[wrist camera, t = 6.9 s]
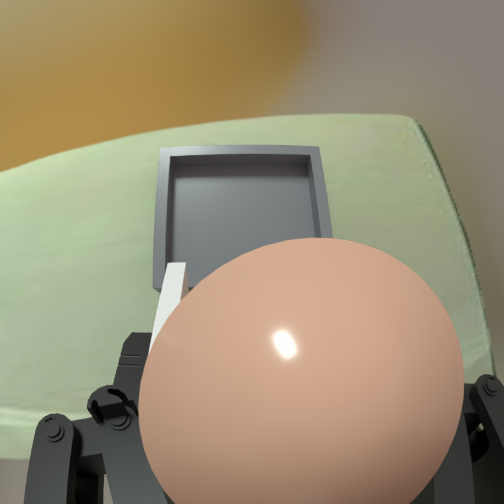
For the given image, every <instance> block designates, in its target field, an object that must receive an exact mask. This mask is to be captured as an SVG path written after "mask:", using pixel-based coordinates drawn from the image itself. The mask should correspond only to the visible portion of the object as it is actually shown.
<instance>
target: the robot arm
mask: <svg viewBox="0 0 504 504" xmlns="http://www.w3.org/2000/svg"><path fill="white" fill-rule="evenodd" d="M188 293H189V287H188V278H187V269H186V262H181V263H168V264H167V268H166V273H165V277H164V281H163V286H162V290H161V294H160V299H159V304H158V308H157V313H156V318H155V322H154V327H153V332H152V333H135V332H132V333H131V334H130V336H129V337H128V338H127V339H126V340H125V342H124V344H123V347H122V351H121V357H120V359H119V363H118V367H117V371H116V375H115V379H114V383H113V385H106V386H103V387H101V388H98V389H97V390H96V391H95V392H93V393H92V394H91V396H90V398H89V399H88V403H87V409H88V411H89V412H90V414H91V415H92V417H90V418H86V419H80V420H75V421H70V420H69V419H68V418H67V417H66V416H65V415H61V414H58V413H56V414H49V415H47V416H45V417H44V418H43V419H42V420H41V421H40V422H39V423H38V425H37V428H36V431H35V436H34V440H33V445H32V451H31V456H30V462H29V468H28V475H27V481H26V489H25V498H24V504H103V487H104V474H107V479H108V483H109V487H110V492H111V495H112V499H113V503H114V504H175V503H174V502H173V501H172V500H171V498H170V497H169V496H168V495H167V493H166V492H165V491H164V490H163V488H162V487H161V485H160V483H159V481H158V480H157V478H156V476H155V475H154V473H153V471H152V469H151V466H150V464H149V461H148V459H147V456H146V453H145V451H144V447H143V442H142V438H141V433H140V428H139V411H138V404H139V393H140V383H141V379H142V375H143V371H144V367H145V363H146V360H147V357H148V355H149V353H150V350H151V348H152V345H153V343H154V341H155V338H156V337H157V335H158V333H159V331H160V330H161V328H162V326H163V325H164V323H165V321H166V320H167V318H168V317H169V315H170V314H171V313H172V312H173V310H174V309H175V308H176V306H177V305H178V304H179V303H180V301H181V300H182V299H183V298H184V297H185V296H186V295H187V294H188ZM481 423H482V425H483V427H484V429H483V430H481V429H480V428H479V425H480V424H481ZM409 504H504V386H503V385H502V383H501V382H500V381H499V379H497V378H496V377H495V376H492V375H489V374H485V375H482V376H480V377H479V378H478V379H477V381H476V382H475V384H466V383H464V397H463V404H462V410H461V415H460V419H459V423H458V426H457V430H456V433H455V436H454V438H453V441H452V443H451V446H450V448H449V450H448V452H447V454H446V456H445V458H444V460H443V462H442V463H441V465H440V467H439V469H438V470H437V472H436V473H435V474H434V476H433V477H432V479H431V480H430V481H429V483H428V484H427V485H426V486H425V488H424V489H423V490H422V491H421V492H420V493H419V494H418V495H417V497H416V498H415V499H414V500H413V501H412V502H410V503H409Z"/></svg>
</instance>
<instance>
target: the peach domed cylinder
mask: <svg viewBox="0 0 504 504" xmlns="http://www.w3.org/2000/svg"><path fill="white" fill-rule="evenodd" d="M463 397H464V368H463V359H462V354H461V349H460V344H459V340H458V337H457V334H456V332H455V329H454V326H453V324H452V321H451V319H450V317H449V315H448V313H447V311H446V309H445V308H444V306H443V305H442V303H441V302H440V300H439V299H438V297H437V296H436V294H435V293H434V292H433V291H432V289H431V288H430V287H429V286H428V285H427V284H426V283H425V282H424V280H423V279H422V278H421V277H419V276H418V275H417V274H416V273H415V272H414V271H412V270H411V269H410V268H409V267H408V266H406V265H405V264H403V263H401V262H400V261H398V260H397V259H395V258H394V257H392V256H390V255H388V254H386V253H384V252H382V251H379V250H377V249H375V248H373V247H370V246H366V245H363V244H360V243H356V242H353V241H347V240H340V239H334V238H303V239H294V240H286V241H282V242H278V243H274V244H270V245H266V246H263V247H260V248H258V249H255V250H253V251H250V252H248V253H245V254H242V255H241V256H239V257H237V258H235V259H233V260H232V261H230V262H228V263H226V264H224V265H222V266H221V267H219V268H218V269H217V270H215V271H214V272H213V273H211V274H210V275H208V276H207V277H206V278H204V279H203V280H202V281H200V282H199V283H198V284H197V285H196V286H195V287H194V288H193V289H192V290H191V291H190V292H189V293H188V294H187V295H186V296H185V297H184V298H183V299H182V300H181V301H180V303H179V304H178V305H177V306H176V308H175V309H174V310H173V312H172V313H171V314H170V315H169V317H168V318H167V320H166V321H165V323H164V325H163V326H162V328H161V330H160V331H159V333H158V335H157V337H156V338H155V341H154V343H153V345H152V348H151V350H150V353H149V355H148V357H147V360H146V363H145V367H144V371H143V375H142V379H141V383H140V393H139V404H138V411H139V428H140V433H141V438H142V442H143V447H144V451H145V453H146V456H147V459H148V461H149V464H150V466H151V469H152V471H153V473H154V475H155V476H156V478H157V480H158V481H159V483H160V485H161V487H162V488H163V490H164V491H165V492H166V493H167V495H168V496H169V497H170V498H171V500H172V501H173V502H174V503H175V504H409V503H410V502H412V501H413V500H414V499H415V498H416V497H417V495H418V494H419V493H420V492H421V491H422V490H423V489H424V488H425V486H426V485H427V484H428V483H429V481H430V480H431V479H432V477H433V476H434V474H435V473H436V472H437V470H438V469H439V467H440V465H441V463H442V462H443V460H444V458H445V456H446V454H447V452H448V450H449V448H450V446H451V443H452V441H453V438H454V436H455V433H456V430H457V426H458V423H459V419H460V415H461V410H462V404H463Z"/></svg>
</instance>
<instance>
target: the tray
mask: <svg viewBox="0 0 504 504" xmlns="http://www.w3.org/2000/svg"><path fill="white" fill-rule="evenodd" d="M303 238H332V230H331V222H330V214H329V207H328V200H327V193H326V187H325V180H324V174H323V168H322V162H321V156H320V150H319V147H317V146H292V145H209V146H185V147H167V148H160V158H159V168H158V180H157V193H156V207H155V225H154V249H153V288H154V289H155V290H157V291H158V292H161V290H162V286H163V281H164V277H165V273H166V268H167V264H168V263H181V262H186V269H187V278H188V287H189V292H190V291H191V290H192V289H193V288H194V287H195V286H196V285H197V284H198V283H199V282H200V281H202V280H203V279H204V278H206V277H207V276H208V275H210V274H211V273H213V272H214V271H215V270H217V269H218V268H219V267H221V266H222V265H224V264H226V263H228V262H230V261H232V260H233V259H235V258H237V257H239V256H241V255H242V254H245V253H248V252H250V251H253V250H255V249H258V248H260V247H263V246H266V245H270V244H274V243H278V242H282V241H286V240H294V239H303Z"/></svg>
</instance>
